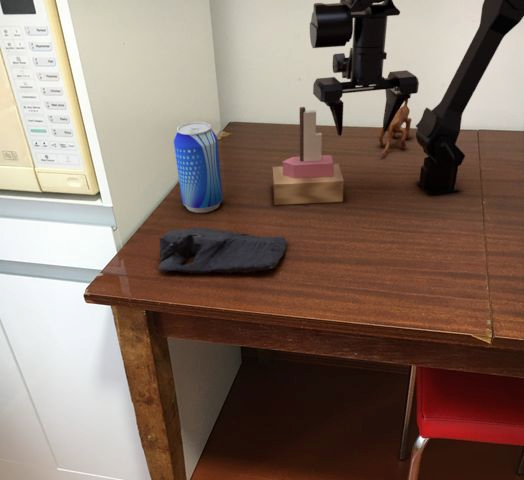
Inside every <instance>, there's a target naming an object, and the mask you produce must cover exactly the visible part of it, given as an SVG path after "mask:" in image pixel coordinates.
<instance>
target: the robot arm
mask: <svg viewBox="0 0 524 480" xmlns="http://www.w3.org/2000/svg"><path fill="white" fill-rule="evenodd" d="M400 14H401V11H400V9H398V7H397V6H396V5H395V3H394V1H393V0H339V2H336V3H334V2H333V3H323V2H315V3H313V11H312V13H311V17H310V18H311V19H310V22H309V39H310V45H311V47H312V49H321V48H324V49H325V48H338V47H345V46H346V45H347V43H350V41H351V40H352V46H351V47H350V48H349V55H348V57H346V55H345V53H341V52H340V53H333V55H332V72H333V74H339V73H341V79H347V80H350V81H339V79H337V78H336V77H335V76H330V77H329V76H328V77H319V78H318V77H317V78H316V79H315V80H314V82H313V85H312V94H313V95H314V96H315V97H316V99H318V101H319V102H321V103H324V104H325V105H326V106H327V107H328V108H329V109H330V112H331V116H332V118H333V121H334V125H335V130H336V132H337V135H338V136H339V137H342V134H343V127H344V126H343V125H344V102H343V101H342V99H341V98H342V97H343V94H352V93H362V92H371V91H372V92H373V91H381V90H383V91H385V106H384V113H383V119H382V127H383V130H384V131H386V132H388V131H387V129H388V127H389V126H390V124H391V122H392V120H393V118H394V117H395V115H396V113H397V112H398V110H399V109H400V108H401V107H402V106H403V105H404V104H405V100H406V99H408V100H409V99H411V96H412V95H413V94H414V95H415V94H417V93H418V92H419V84H420V82H419V78H418V77H417V76H416V75H415V74H414V73H412V72H411V71H408V70H407V69H406V70H405V69H404V70H394V71H389V72H388V74H387V77H384V75H383V72H384V61H385V60H387V55H388V54H387V53H388V52H386V50H385V49H386V39H387V38H386V36H387V28H388V27H387V26H388V17H392V16H393V17H395V16H400ZM523 18H524V0H483V3H482V5H481V14H480V20H479V21H480V22H479V26H478V28H477V30H476V32H475V34H474V36H473V38H472V40H471V42H470V44H469V45H468V48H467V50H466V52H465V54H464V55H463V57H462V60H461V62H460V64H459V65H458V67H457V69H456V71H455V72H454V75H453V77H452V79H451V81H450V82H449V84H448V87H447V89H446V91H445V92H444V95H443V97H442V99H441V100H440V102H439V103H438V104H437V105H436V106H435V107H434V108H433V109H430V108H429V107H425V108H424V110H423V113H422V115H421V118H420V120H419V121H418V123H417V124H416V125H415V127H416V129H417V130H416V133H415V137H416V141H417V143H418V145H419V146H420V147H421V148H422V150H423V153H424V154H425V155H427V156H426V157H423V164H422V165H421V166H420V173H419V180H417V185H418V186H420V188H422V189H423V190H424V192H426V193H427V194H428V195H429V196H433V195H441V194H448V193H456V192H459V188H458V187H457V186H456V183H457V175H458V171H459V166H461V165H462V163H463V162H464V160H465V157H466V154H465V153H464V152H463V151H462V150H461V149H460V148H459V147H458V146H457V141H458V138H459V136H460V133H461V128H462V126H461V125H462V120H463V119H462V117H463V113H464V111H465V110H466V107H468V104H469V103H470V100H471V99H472V97H473V95H474V93H475V91H476V89H477V88H478V85H479V84H480V82H481V80H482V78H483V77H484V74H485V72H487V71H486V70H487V69H488V67H489V65H490V63H491V61H492V60H493V58H494V56H495V54H496V52H497V50H498V48H499V47H500V44H501V43H502V41H503V39H504V38H505V36H506V35H507V34H508V33H510V32H511V31H512V30H513V29H514V28H515V27H517V25H518V24H520V23H521V21H522V20H523ZM410 94H411V95H410Z"/></svg>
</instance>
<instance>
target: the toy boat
mask: <svg viewBox="0 0 524 480" xmlns="http://www.w3.org/2000/svg"><path fill="white" fill-rule="evenodd" d="M322 149H323V133H322V132H317V109H309V110H308V109H306V106H300V107H299V156H291V157H290V158H287V159H285V160H283V161H282V166H283V175H285V176H288V177H291V178H312V177H332V176H333V167H334V164H335V163H334V160H333V156H332V155H331V154H327V155H326V154H325V155H323V153H322V151H323V150H322Z"/></svg>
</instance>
